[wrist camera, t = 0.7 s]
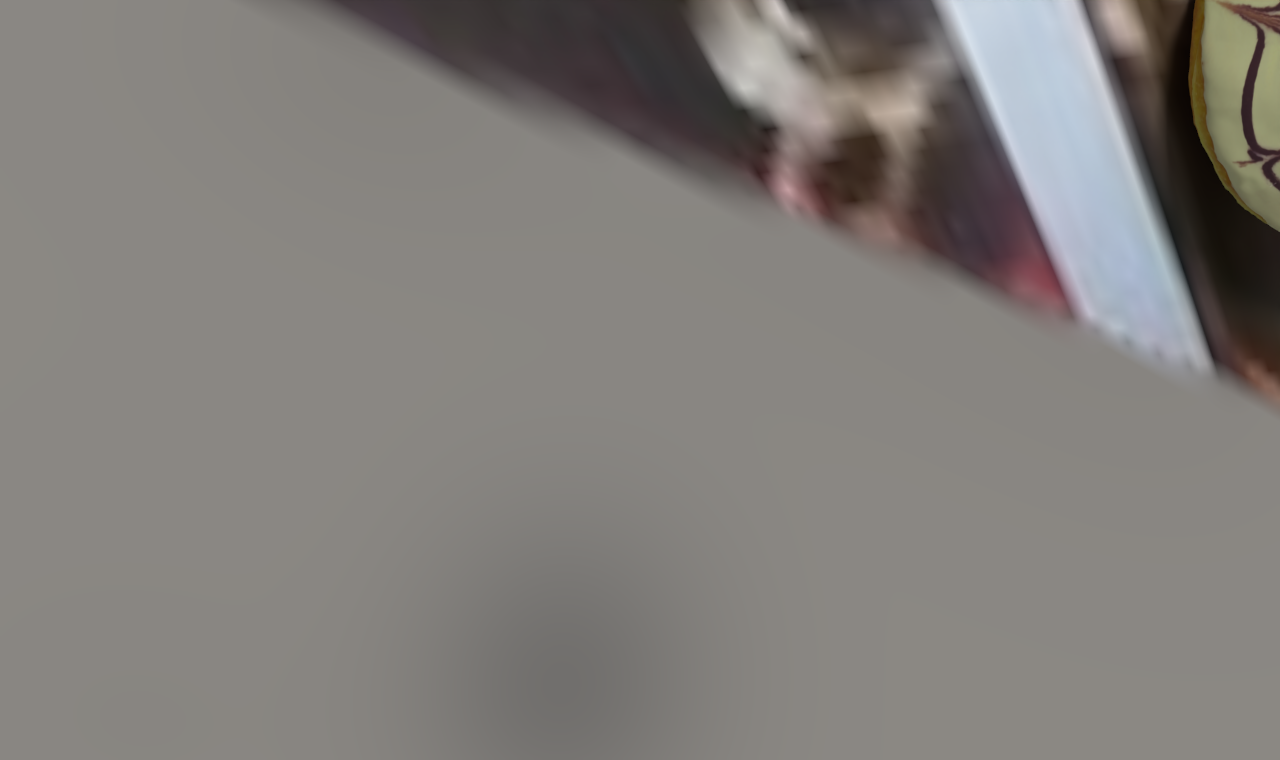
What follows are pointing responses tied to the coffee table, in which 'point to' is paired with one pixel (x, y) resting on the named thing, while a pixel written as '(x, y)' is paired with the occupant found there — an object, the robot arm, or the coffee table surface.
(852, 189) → the coffee table surface
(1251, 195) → the decorated donut
